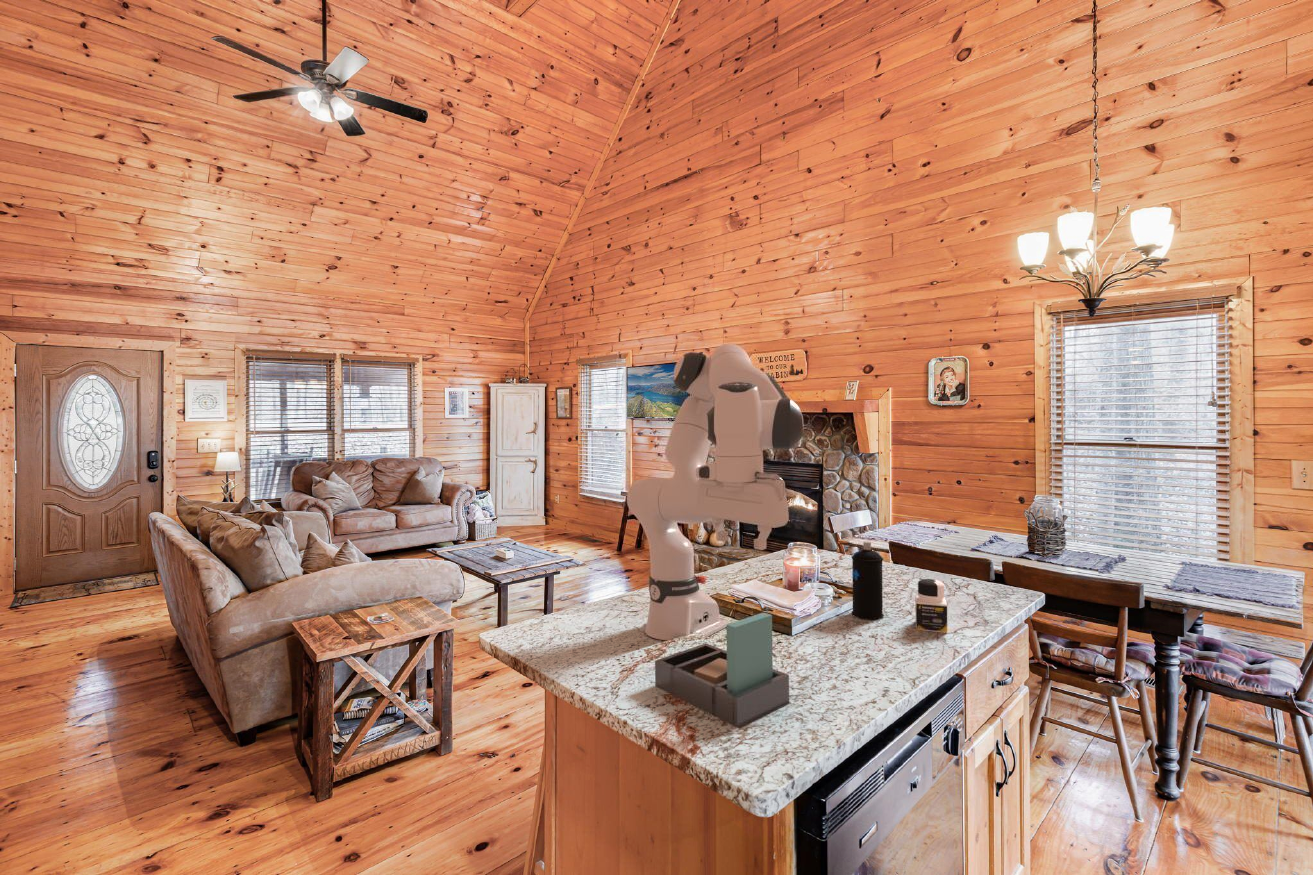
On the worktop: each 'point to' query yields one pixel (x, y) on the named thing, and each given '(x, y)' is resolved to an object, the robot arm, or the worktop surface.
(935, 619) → the medicine bottle
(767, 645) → the teal panel
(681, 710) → the worktop surface
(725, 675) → the walnut offcut
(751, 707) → the rack
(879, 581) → the aerosol can
